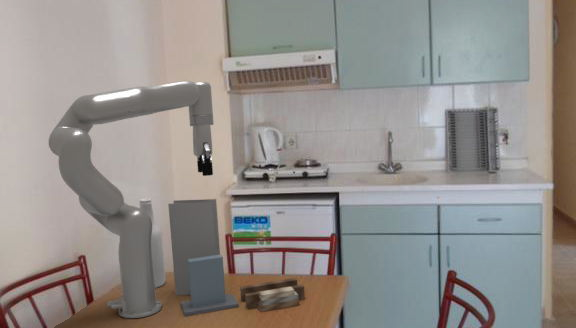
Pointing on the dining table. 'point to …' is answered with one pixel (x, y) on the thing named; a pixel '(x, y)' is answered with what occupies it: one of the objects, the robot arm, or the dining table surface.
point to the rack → (252, 291)
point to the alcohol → (155, 245)
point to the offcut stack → (277, 299)
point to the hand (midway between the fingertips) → (205, 173)
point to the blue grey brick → (206, 280)
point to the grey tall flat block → (192, 236)
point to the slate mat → (209, 306)
